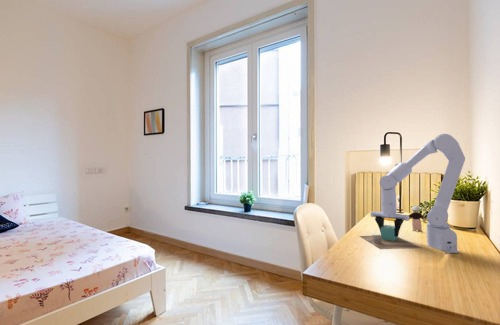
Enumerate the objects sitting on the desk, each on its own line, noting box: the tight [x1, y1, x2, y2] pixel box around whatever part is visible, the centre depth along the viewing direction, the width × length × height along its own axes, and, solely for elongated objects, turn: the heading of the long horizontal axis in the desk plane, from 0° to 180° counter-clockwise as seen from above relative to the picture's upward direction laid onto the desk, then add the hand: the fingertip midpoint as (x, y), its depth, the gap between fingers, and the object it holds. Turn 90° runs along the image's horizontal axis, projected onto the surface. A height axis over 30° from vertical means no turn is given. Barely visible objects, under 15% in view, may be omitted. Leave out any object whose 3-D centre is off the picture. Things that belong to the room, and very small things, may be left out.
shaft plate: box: [359, 234, 422, 250], centre depth 108 cm, size 18×16×4 cm
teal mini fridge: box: [380, 224, 399, 241], centre depth 112 cm, size 5×6×5 cm
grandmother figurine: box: [408, 205, 426, 233], centre depth 127 cm, size 8×4×13 cm, turn 84°
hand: (389, 235), depth 112 cm, fingers closed on teal mini fridge, 5 cm apart
